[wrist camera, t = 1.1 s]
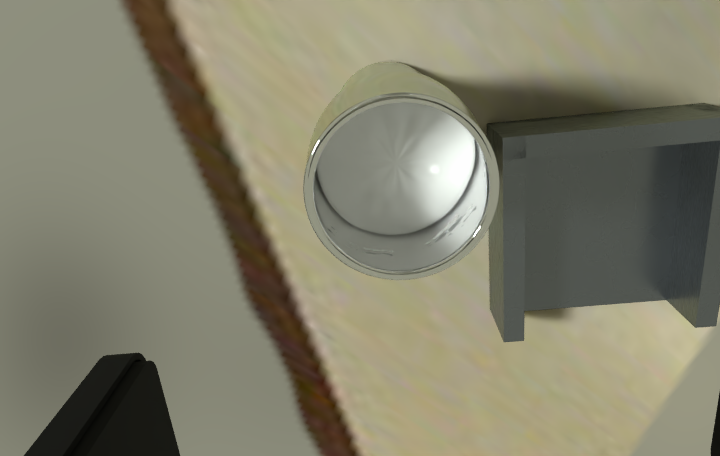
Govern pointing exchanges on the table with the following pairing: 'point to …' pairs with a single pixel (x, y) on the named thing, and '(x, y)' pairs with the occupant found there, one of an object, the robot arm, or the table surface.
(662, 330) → the table surface
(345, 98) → the beer glass
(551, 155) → the grey tray
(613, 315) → the table surface
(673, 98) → the table surface
